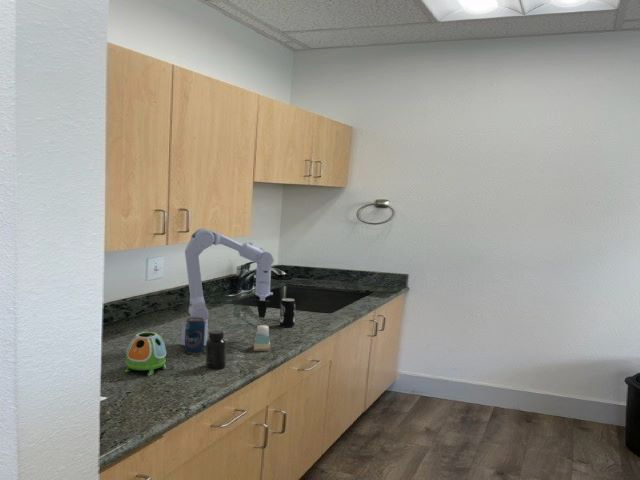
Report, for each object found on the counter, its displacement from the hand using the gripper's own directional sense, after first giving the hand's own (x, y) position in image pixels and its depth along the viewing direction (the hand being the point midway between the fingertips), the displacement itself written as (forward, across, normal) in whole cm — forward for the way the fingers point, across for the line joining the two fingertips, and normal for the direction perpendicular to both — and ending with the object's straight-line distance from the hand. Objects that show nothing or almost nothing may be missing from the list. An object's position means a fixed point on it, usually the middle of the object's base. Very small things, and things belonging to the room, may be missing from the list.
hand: (261, 315), depth 235 cm
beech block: (+11, -11, 0) cm, 15 cm away
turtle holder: (+11, -38, +37) cm, 54 cm away
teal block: (+8, -11, 0) cm, 14 cm away
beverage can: (+11, +27, -11) cm, 31 cm away
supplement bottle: (+11, -35, +15) cm, 39 cm away
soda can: (+11, -17, +24) cm, 31 cm away
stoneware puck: (+5, -11, -1) cm, 12 cm away
